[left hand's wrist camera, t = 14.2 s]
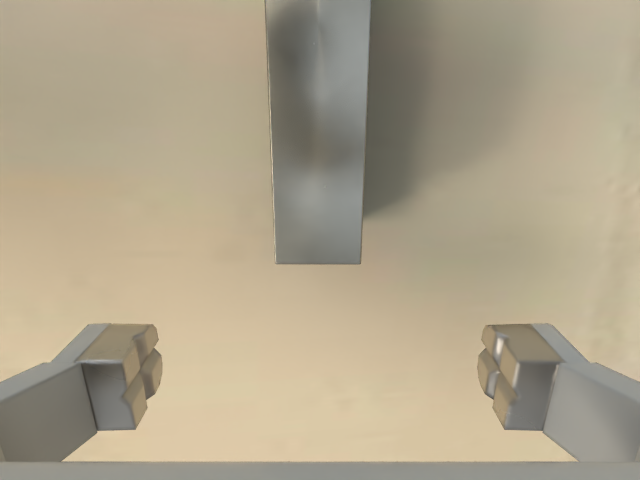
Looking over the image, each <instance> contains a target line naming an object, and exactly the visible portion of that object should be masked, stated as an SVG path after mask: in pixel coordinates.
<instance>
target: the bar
mask: <svg viewBox="0 0 640 480" xmlns="http://www.w3.org/2000/svg"><path fill="white" fill-rule="evenodd" d="M371 5H372V0H265V20H266V45H267V71H268V97H269V123H270V149H271V175H272V201H273V227H274V253H275V264H361V249H362V225H363V200H364V176H365V151H366V127H367V103H368V78H369V54H370V29H371Z"/></svg>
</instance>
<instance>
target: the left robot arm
mask: <svg viewBox="0 0 640 480" xmlns="http://www.w3.org/2000/svg"><path fill="white" fill-rule="evenodd" d="M158 340H159V339H158V334H157V329H156V327H155V326H154V325H153V324H111V323H100V324H89V325H87V326H86V327H85V328H84V329H83V330H82V331H81V332H80V333H79V334H78V335H77V336H76V337H75V338H74V339H73V340H72V341H71V342H70V343H69V344H68V345H67V346H66V347H65V348H64V349H63V350H62V351H61V352H60V353H59V354H58V355H57V356H56V357H55V358H54V359H53V360H52V361H51V362H50V363H42V364H39V365H37V366H35V367H33V368H31V369H28V370H26V371H24V372H22V373H19V374H17V375H15V376H13V377H11V378H8V379H6V380H4V381H2V382H0V480H640V382H638V381H636V380H634V379H631V378H629V377H627V376H625V375H623V374H620V373H618V372H616V371H614V370H612V369H609V368H607V367H605V366H603V365H601V364H598V363H590V362H589V361H588V360H587V359H586V358H585V357H584V356H583V355H582V354H581V353H580V352H579V351H578V350H577V349H576V348H575V347H574V346H573V345H572V344H571V343H570V342H569V341H568V340H567V339H566V338H565V337H564V336H563V335H562V334H561V333H560V332H559V331H558V330H557V329H556V328H555V327H554V326H553V325H551V324H548V323H538V324H507V325H485V328H484V330H483V333H482V339H481V340H482V342H483V343H484V345H485V346H486V348H485V349H484V350H483V351H482V352H481V354H480V355H479V358H478V366H477V367H478V378H479V381H480V385H481V387H482V389H483V391H484V393H485V394H486V395H487V396H489V397H490V398H492V399H493V400H494V402H493V410H494V411H495V413H496V415H497V417H498V419H499V421H500V422H501V424H502V426H503V428H504V430H534V431H543V433H544V434H545V435H546V436H548V437H549V438H550V439H551V440H553V441H554V442H555V443H556V444H558V445H559V446H560V447H562V448H563V449H564V450H565V451H567V452H568V453H569V454H570V455H572V456H573V457H574V458H575V459H577V460H578V461H579V462H61V461H62V460H63V459H65V458H66V457H67V456H69V455H70V454H71V453H72V452H74V451H75V450H76V449H77V448H79V447H80V446H81V445H82V444H84V443H85V442H86V441H87V440H89V439H90V438H91V437H93V436H94V435H95V434H96V433H97V431H105V430H136V428H137V426H138V424H139V422H140V421H141V419H142V417H143V415H144V413H145V411H146V410H147V402H146V400H147V399H148V398H150V397H151V396H153V395H154V394H155V393H156V391H157V389H158V387H159V385H160V381H161V377H162V358H161V355H160V354H159V352H158V351H157V350H156V349H155V348H154V346H155V345H156V343H157V342H158Z"/></svg>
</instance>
